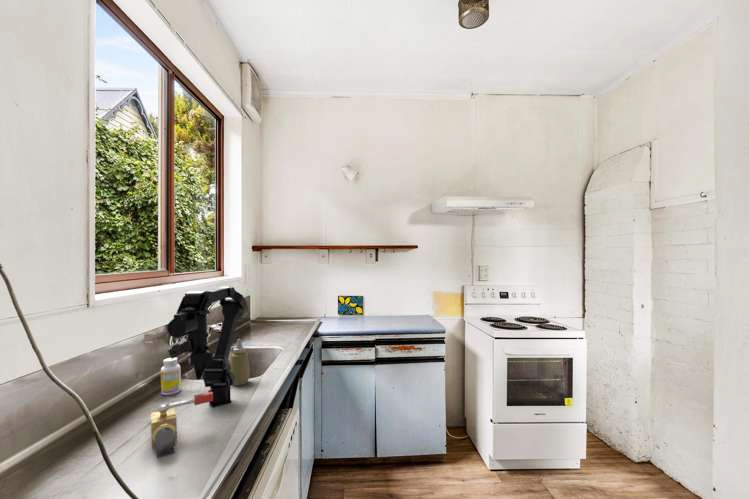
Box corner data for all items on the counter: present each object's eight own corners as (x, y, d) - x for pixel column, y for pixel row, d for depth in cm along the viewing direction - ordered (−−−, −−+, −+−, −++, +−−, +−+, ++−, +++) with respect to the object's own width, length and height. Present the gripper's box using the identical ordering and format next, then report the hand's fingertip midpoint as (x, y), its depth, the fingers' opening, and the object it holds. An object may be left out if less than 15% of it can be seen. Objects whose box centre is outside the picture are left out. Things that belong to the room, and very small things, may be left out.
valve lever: (211, 398, 108) (211, 391, 108) (213, 401, 106) (213, 394, 106) (157, 410, 100) (156, 403, 100) (157, 414, 98) (157, 406, 98)
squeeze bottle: (230, 388, 136) (229, 342, 136) (228, 382, 143) (227, 338, 144) (251, 384, 140) (250, 340, 140) (249, 378, 147) (248, 336, 147)
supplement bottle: (166, 389, 137) (166, 357, 137) (184, 388, 138) (183, 356, 138) (157, 396, 131) (156, 362, 131) (175, 395, 131) (175, 361, 131)
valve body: (173, 421, 110) (172, 395, 110) (179, 453, 92) (178, 422, 92) (150, 426, 107) (150, 400, 107) (152, 461, 89) (151, 429, 89)
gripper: (166, 329, 114) (167, 376, 114) (170, 340, 99) (171, 394, 99) (203, 324, 121) (204, 369, 120) (212, 334, 105) (213, 385, 105)
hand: (198, 379), depth 111 cm, fingers closed
